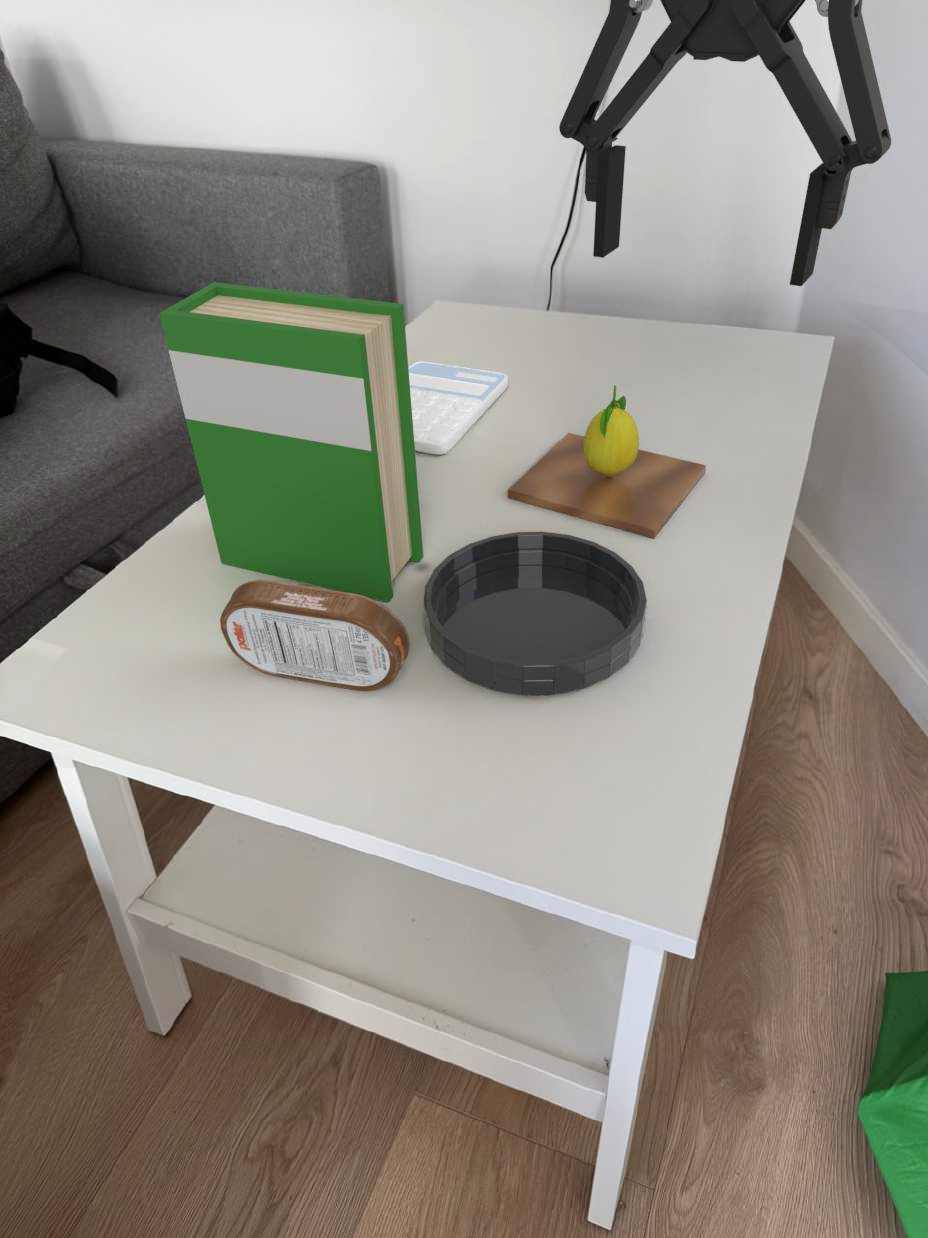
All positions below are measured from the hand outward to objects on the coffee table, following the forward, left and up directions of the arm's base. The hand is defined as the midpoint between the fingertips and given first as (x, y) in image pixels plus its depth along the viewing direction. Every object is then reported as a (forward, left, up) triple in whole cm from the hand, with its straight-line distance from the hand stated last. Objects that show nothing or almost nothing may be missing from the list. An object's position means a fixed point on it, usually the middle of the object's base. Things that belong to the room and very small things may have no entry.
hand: (699, 265), depth 62 cm
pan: (+8, +8, -29) cm, 31 cm away
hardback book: (+30, +9, -29) cm, 43 cm away
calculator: (+38, -22, -29) cm, 53 cm away
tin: (+20, +22, -29) cm, 41 cm away
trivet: (+12, -16, -29) cm, 35 cm away
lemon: (+12, -16, -28) cm, 34 cm away
